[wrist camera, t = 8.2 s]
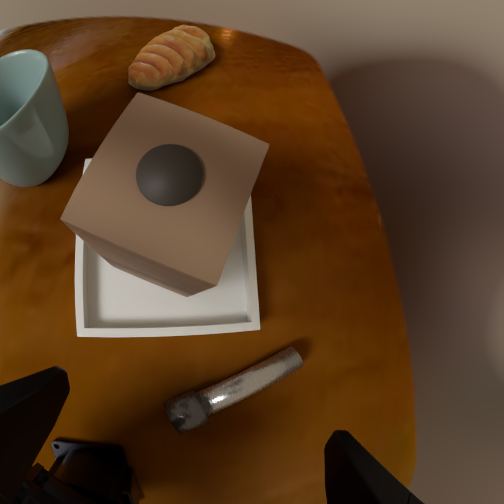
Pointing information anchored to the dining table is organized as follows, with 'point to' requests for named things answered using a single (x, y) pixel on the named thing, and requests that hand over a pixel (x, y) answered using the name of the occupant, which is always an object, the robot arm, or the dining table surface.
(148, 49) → the pastry
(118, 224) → the block
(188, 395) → the flashlight
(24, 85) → the cup
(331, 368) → the dining table surface
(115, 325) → the tray
